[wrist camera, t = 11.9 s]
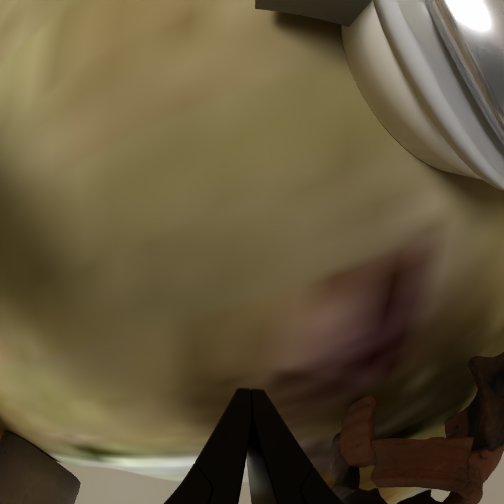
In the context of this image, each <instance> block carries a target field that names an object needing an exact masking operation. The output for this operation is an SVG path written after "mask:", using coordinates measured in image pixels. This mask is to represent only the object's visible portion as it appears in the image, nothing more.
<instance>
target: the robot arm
mask: <svg viewBox="0 0 504 504" xmlns="http://www.w3.org/2000/svg"><path fill="white" fill-rule="evenodd" d="M246 458H247V467H248V476H249V485H250V494H251V503H252V504H345V503H344V502H343V501H342V500H341V499H340V498H339V497H338V496H337V495H336V494H335V493H334V492H333V491H332V490H331V489H330V487H329V486H328V485H327V484H326V482H325V481H324V480H323V478H322V477H321V476H320V474H319V473H318V472H317V470H316V469H315V468H314V467H313V464H312V463H311V462H310V460H309V459H308V457H307V456H306V454H305V453H304V451H303V450H302V448H301V447H300V445H299V444H298V442H297V441H296V439H295V438H294V436H293V435H292V433H291V432H290V430H289V429H288V427H287V426H286V424H285V422H284V421H283V419H282V418H281V416H280V415H279V413H278V411H277V410H276V408H275V407H274V405H273V404H272V402H271V400H270V399H269V397H268V395H267V394H266V392H265V391H264V390H263V389H251V390H250V389H249V388H238V389H237V390H236V392H235V394H234V395H233V397H232V399H231V401H230V403H229V404H228V406H227V408H226V410H225V412H224V413H223V415H222V417H221V419H220V420H219V422H218V424H217V426H216V427H215V429H214V431H213V433H212V434H211V436H210V438H209V439H208V441H207V443H206V445H205V446H204V448H203V450H202V451H201V453H200V455H199V456H198V458H197V460H196V461H195V464H193V466H192V468H191V469H190V471H189V472H188V474H187V475H186V477H185V478H184V480H183V481H182V483H181V484H180V485H179V487H178V488H177V489H176V490H175V491H174V493H173V494H172V495H171V496H170V497H169V498H168V499H167V501H166V502H165V503H164V504H238V502H239V496H240V491H241V486H242V480H243V474H244V468H245V462H246Z"/></svg>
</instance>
